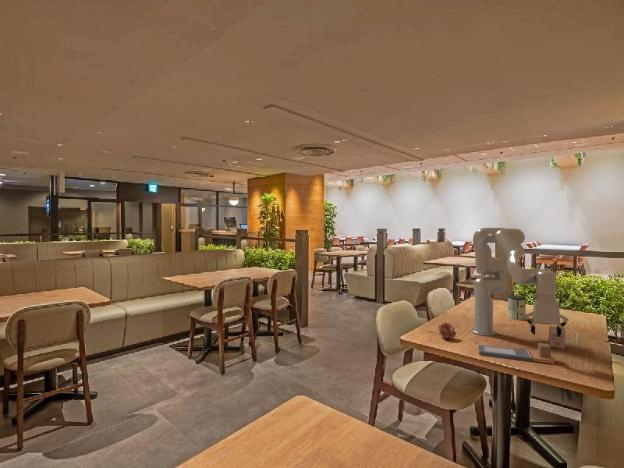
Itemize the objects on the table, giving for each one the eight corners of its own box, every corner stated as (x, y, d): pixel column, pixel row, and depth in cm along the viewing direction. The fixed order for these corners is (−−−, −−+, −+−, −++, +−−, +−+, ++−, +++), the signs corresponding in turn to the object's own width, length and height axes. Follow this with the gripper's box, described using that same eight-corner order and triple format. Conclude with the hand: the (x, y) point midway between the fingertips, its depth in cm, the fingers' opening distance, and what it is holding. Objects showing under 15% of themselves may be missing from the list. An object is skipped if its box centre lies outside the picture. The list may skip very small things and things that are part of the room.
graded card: (553, 337, 196) (554, 329, 211) (553, 338, 196) (554, 330, 211) (577, 341, 190) (576, 332, 204) (577, 342, 190) (576, 333, 204)
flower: (432, 332, 199) (436, 323, 194) (444, 327, 203) (449, 318, 198) (444, 346, 192) (448, 337, 188) (456, 341, 196) (461, 332, 191)
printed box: (548, 344, 186) (549, 325, 185) (564, 347, 182) (565, 327, 181) (548, 346, 183) (549, 327, 182) (564, 349, 179) (565, 329, 178)
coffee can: (512, 315, 243) (512, 294, 242) (528, 318, 234) (529, 297, 234) (504, 317, 237) (504, 296, 236) (520, 321, 228) (521, 299, 228)
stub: (529, 353, 172) (529, 340, 172) (549, 356, 169) (549, 342, 169) (533, 361, 163) (533, 347, 163) (554, 364, 160) (554, 349, 160)
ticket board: (478, 347, 180) (478, 344, 180) (528, 354, 172) (528, 350, 172) (479, 354, 171) (479, 351, 171) (532, 361, 163) (532, 357, 163)
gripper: (525, 298, 164) (525, 335, 164) (571, 300, 157) (570, 339, 158) (522, 295, 171) (522, 330, 171) (566, 297, 164) (566, 334, 165)
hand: (545, 335), depth 164 cm, fingers open, 9 cm apart
